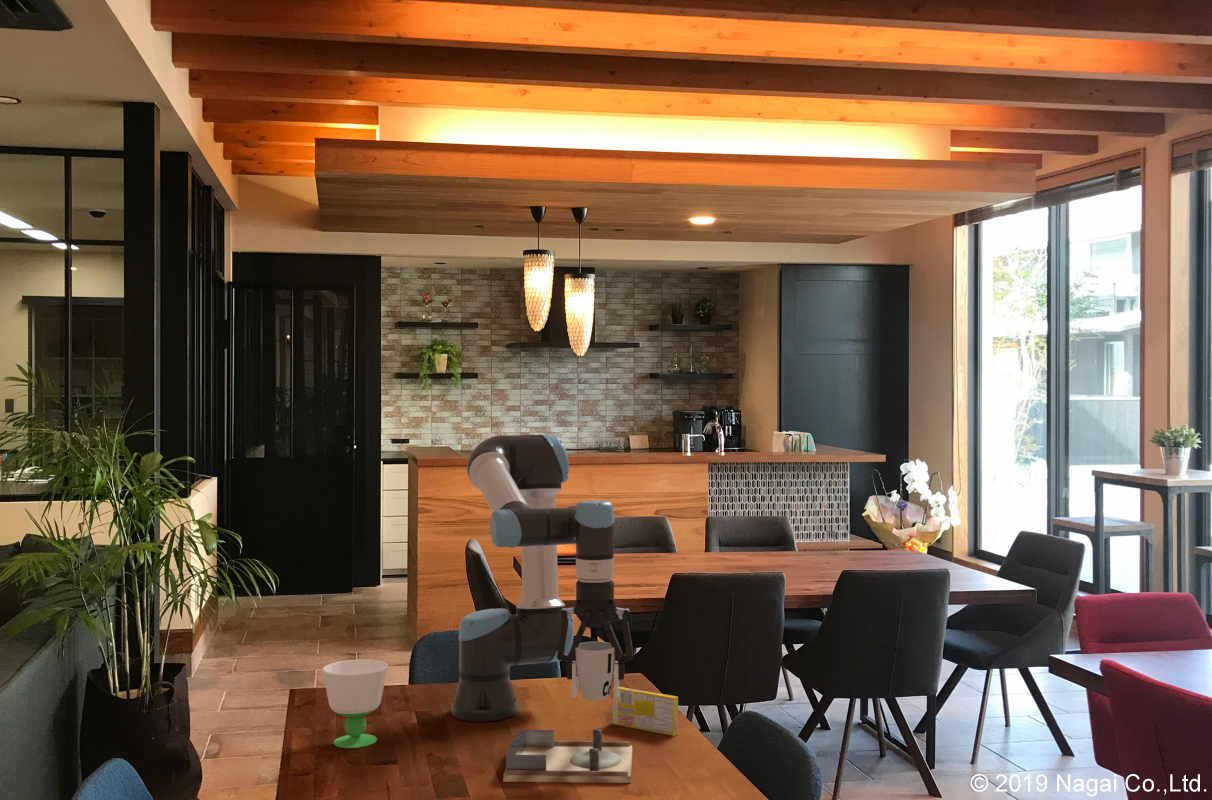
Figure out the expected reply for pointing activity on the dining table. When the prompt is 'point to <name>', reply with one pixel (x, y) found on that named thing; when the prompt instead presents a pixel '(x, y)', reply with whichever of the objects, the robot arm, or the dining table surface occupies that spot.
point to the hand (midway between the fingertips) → (595, 695)
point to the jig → (579, 762)
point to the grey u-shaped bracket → (529, 740)
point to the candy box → (646, 711)
